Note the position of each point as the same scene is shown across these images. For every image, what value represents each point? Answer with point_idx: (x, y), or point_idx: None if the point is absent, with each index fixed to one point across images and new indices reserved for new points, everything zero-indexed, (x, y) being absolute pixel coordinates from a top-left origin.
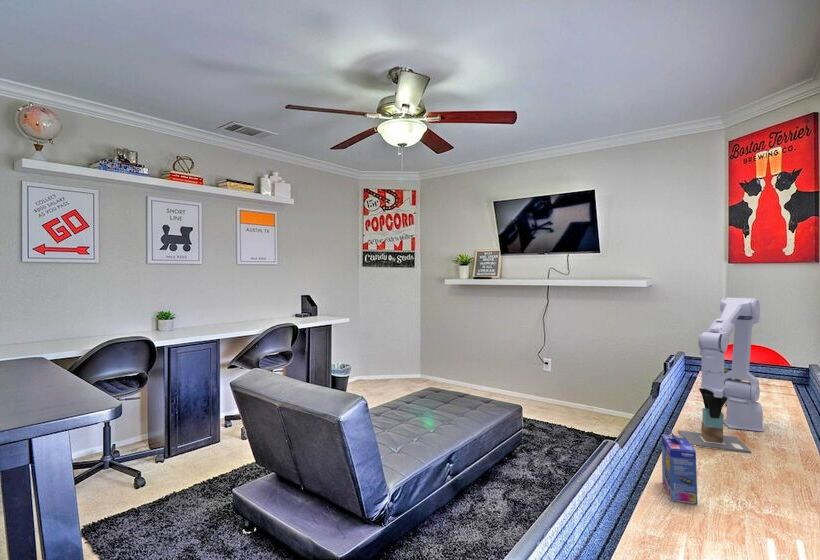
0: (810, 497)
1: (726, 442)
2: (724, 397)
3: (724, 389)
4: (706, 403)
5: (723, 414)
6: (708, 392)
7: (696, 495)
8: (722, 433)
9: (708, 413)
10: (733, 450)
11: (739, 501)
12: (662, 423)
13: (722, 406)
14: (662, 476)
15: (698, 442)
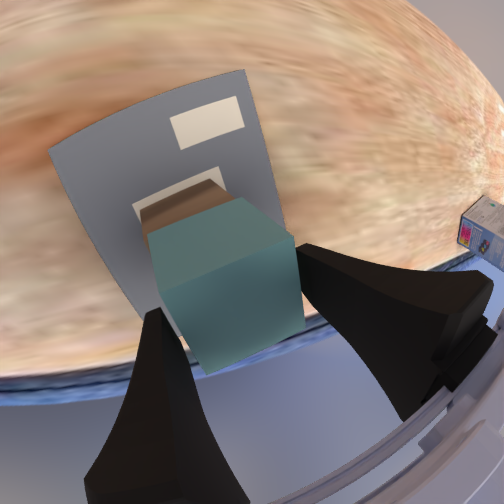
0: (440, 32)
1: (180, 167)
2: (482, 303)
3: (468, 425)
4: (194, 395)
5: (289, 234)
6: (225, 483)
7: (493, 200)
8: (226, 193)
9: (300, 312)
10: (260, 132)
11: (475, 148)
12: (105, 390)
13: (401, 269)
14: (465, 246)
15: None
